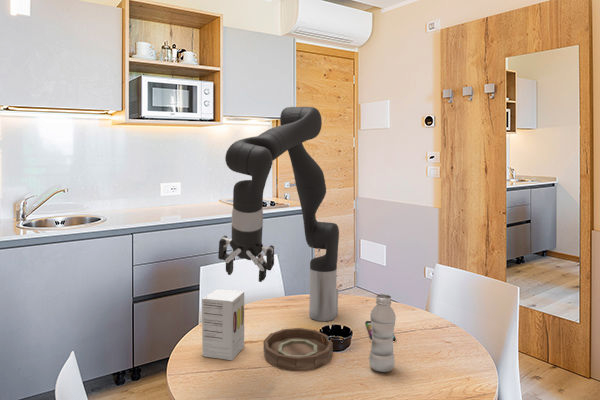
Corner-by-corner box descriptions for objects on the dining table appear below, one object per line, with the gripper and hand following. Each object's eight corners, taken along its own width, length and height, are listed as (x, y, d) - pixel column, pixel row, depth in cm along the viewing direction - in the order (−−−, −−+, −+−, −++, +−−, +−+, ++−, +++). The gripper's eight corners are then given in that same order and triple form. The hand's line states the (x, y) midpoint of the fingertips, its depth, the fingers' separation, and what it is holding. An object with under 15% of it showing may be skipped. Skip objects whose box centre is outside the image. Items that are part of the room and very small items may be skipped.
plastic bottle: (394, 376, 110) (397, 301, 108) (368, 373, 112) (370, 299, 109) (394, 364, 117) (397, 293, 114) (369, 362, 118) (371, 291, 116)
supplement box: (232, 361, 117) (232, 301, 116) (201, 357, 120) (200, 298, 118) (245, 346, 127) (245, 290, 125) (216, 342, 129) (215, 287, 127)
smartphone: (387, 321, 145) (397, 340, 130) (387, 323, 145) (397, 343, 130) (364, 320, 145) (371, 340, 130) (364, 323, 145) (371, 343, 130)
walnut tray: (300, 333, 135) (300, 323, 135) (345, 355, 122) (345, 343, 121) (250, 352, 123) (250, 340, 122) (294, 378, 109) (295, 365, 108)
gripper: (279, 221, 107) (275, 274, 114) (226, 210, 109) (225, 263, 117) (270, 235, 100) (266, 291, 107) (213, 224, 103) (214, 279, 110)
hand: (245, 276), depth 112 cm, fingers open, 8 cm apart
